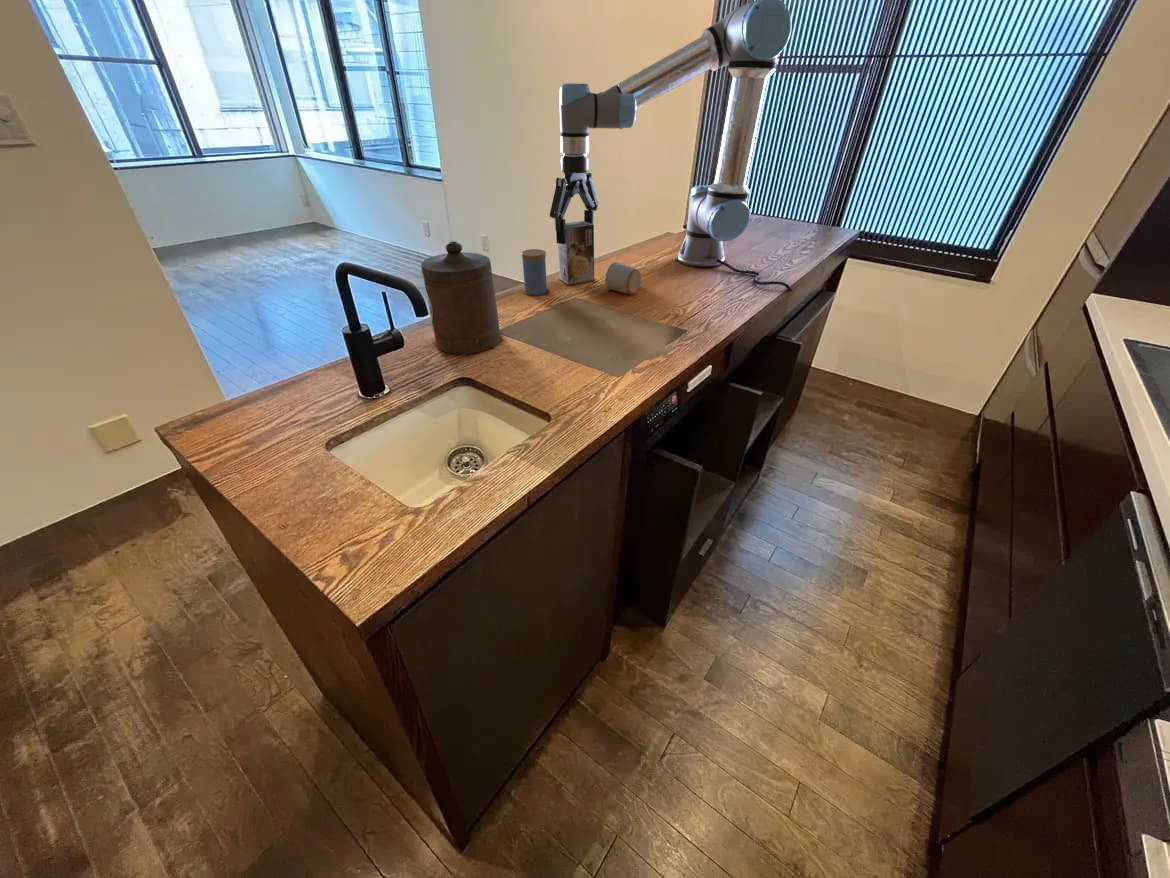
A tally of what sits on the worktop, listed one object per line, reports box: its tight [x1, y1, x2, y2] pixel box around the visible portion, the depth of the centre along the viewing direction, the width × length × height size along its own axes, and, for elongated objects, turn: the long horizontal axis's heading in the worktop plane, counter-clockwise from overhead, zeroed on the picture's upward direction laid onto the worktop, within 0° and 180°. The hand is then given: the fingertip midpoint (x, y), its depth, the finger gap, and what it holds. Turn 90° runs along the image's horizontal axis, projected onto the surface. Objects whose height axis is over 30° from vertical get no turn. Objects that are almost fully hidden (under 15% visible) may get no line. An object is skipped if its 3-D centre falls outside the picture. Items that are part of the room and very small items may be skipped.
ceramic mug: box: [604, 261, 643, 295], centre depth 138 cm, size 11×8×8 cm
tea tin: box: [520, 248, 548, 296], centre depth 137 cm, size 7×7×11 cm
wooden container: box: [420, 241, 501, 355], centre depth 106 cm, size 15×15×22 cm
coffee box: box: [557, 220, 595, 286], centre depth 143 cm, size 9×6×16 cm
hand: (575, 238), depth 141 cm, fingers open, 13 cm apart
